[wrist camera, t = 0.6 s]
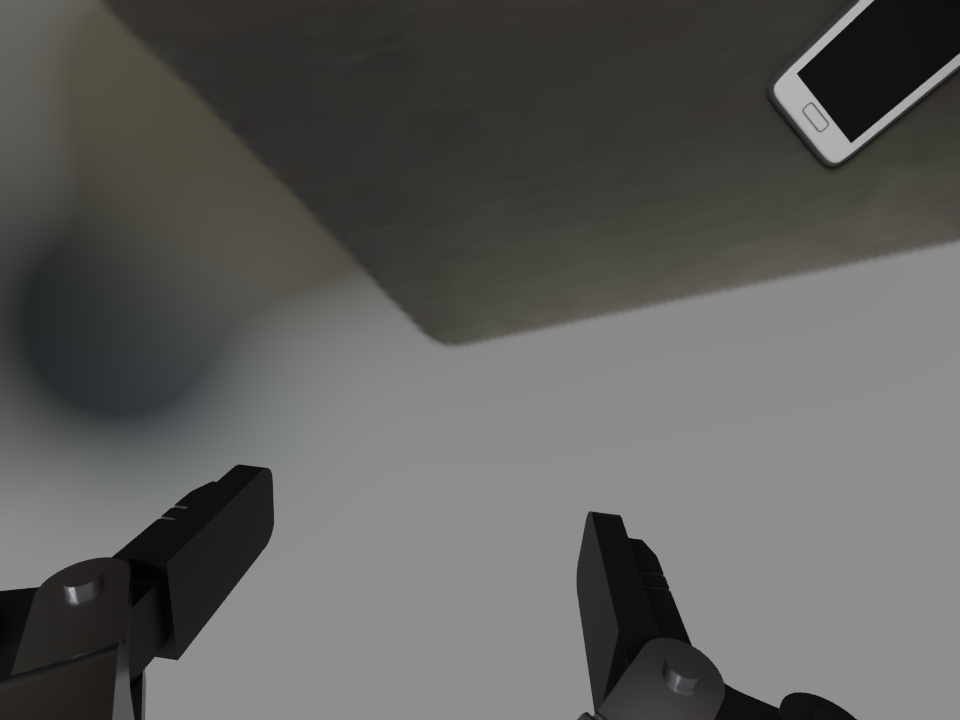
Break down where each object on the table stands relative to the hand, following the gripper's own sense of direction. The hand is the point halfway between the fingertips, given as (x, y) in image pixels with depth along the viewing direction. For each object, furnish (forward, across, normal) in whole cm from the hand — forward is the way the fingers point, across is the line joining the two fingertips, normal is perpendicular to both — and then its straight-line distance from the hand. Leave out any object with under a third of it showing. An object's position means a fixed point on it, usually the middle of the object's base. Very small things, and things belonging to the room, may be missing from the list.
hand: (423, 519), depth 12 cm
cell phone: (+25, -23, -20) cm, 40 cm away
